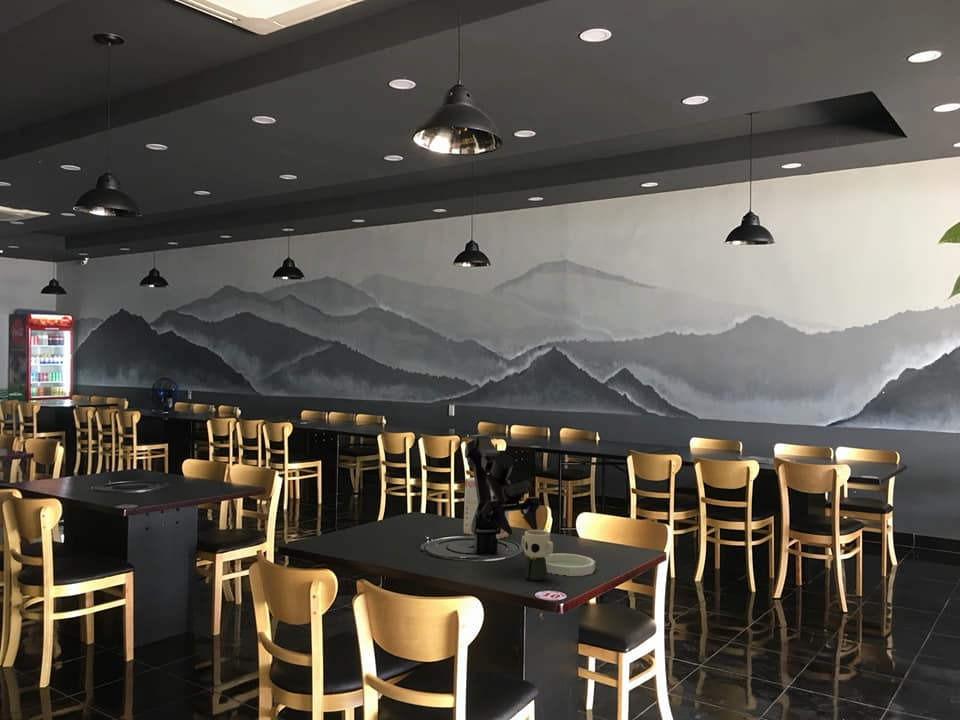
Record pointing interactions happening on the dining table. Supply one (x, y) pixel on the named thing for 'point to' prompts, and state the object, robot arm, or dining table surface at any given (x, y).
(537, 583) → the dining table surface
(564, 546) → the dining table surface
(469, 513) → the coffeecake box
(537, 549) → the character mug
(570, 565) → the grey ring base
